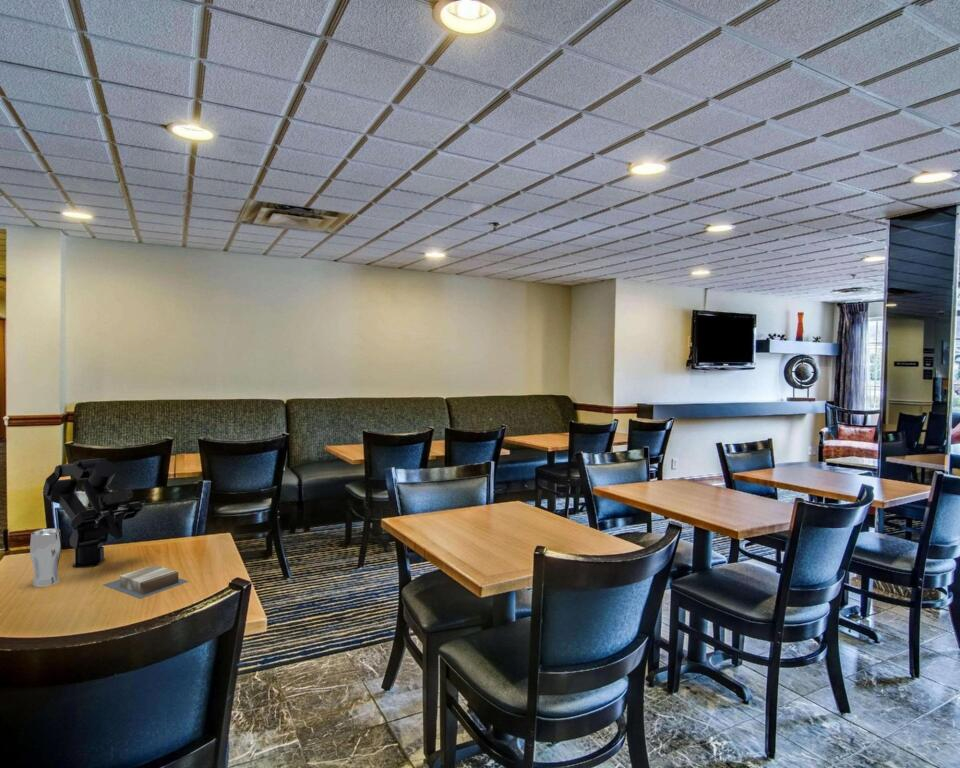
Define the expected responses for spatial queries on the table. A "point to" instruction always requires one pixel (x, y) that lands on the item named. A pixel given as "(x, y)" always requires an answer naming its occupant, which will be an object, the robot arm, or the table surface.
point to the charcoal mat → (116, 586)
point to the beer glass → (45, 556)
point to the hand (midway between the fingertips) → (120, 538)
